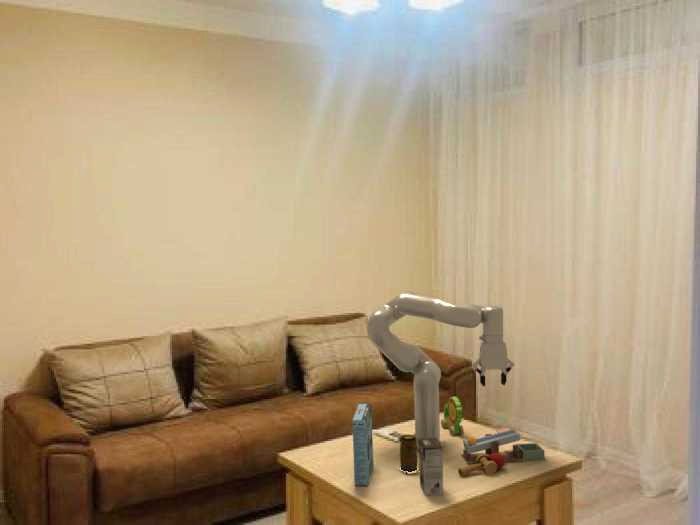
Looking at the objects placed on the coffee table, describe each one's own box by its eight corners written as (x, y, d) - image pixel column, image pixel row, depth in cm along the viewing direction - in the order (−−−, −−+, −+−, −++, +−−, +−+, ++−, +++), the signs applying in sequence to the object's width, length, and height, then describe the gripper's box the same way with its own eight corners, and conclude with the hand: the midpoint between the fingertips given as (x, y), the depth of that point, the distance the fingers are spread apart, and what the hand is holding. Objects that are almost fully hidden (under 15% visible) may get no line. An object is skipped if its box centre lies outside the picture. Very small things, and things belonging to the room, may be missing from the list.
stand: (467, 464, 253) (467, 443, 253) (461, 455, 263) (461, 435, 262) (523, 461, 255) (523, 440, 255) (515, 452, 264) (515, 432, 264)
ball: (469, 449, 256) (467, 439, 256) (466, 445, 259) (465, 436, 259) (478, 446, 256) (476, 437, 256) (475, 443, 260) (474, 434, 259)
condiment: (412, 464, 256) (411, 432, 254) (424, 471, 248) (424, 439, 247) (395, 467, 252) (394, 435, 251) (407, 475, 245) (406, 442, 244)
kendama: (468, 484, 239) (511, 468, 246) (464, 466, 239) (507, 451, 246) (457, 480, 246) (499, 465, 253) (452, 463, 246) (495, 448, 253)
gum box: (368, 486, 236) (366, 420, 234) (353, 486, 237) (351, 420, 235) (373, 464, 256) (372, 403, 254) (359, 464, 256) (358, 403, 254)
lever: (468, 454, 255) (466, 445, 254) (460, 442, 267) (458, 433, 267) (520, 440, 256) (518, 431, 256) (510, 429, 268) (508, 420, 268)
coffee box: (419, 484, 237) (418, 438, 236) (437, 483, 237) (437, 437, 236) (424, 495, 228) (423, 447, 226) (443, 494, 228) (443, 446, 227)
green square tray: (523, 460, 256) (523, 451, 256) (516, 453, 264) (516, 444, 264) (544, 459, 257) (544, 450, 256) (536, 451, 265) (536, 443, 264)
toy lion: (440, 426, 297) (439, 391, 296) (452, 425, 298) (451, 390, 297) (454, 438, 282) (453, 401, 280) (466, 437, 283) (466, 400, 282)
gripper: (473, 341, 259) (473, 388, 260) (518, 339, 260) (518, 386, 262) (467, 337, 266) (468, 383, 268) (512, 336, 268) (512, 381, 269)
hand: (493, 384), depth 265 cm, fingers open, 7 cm apart
